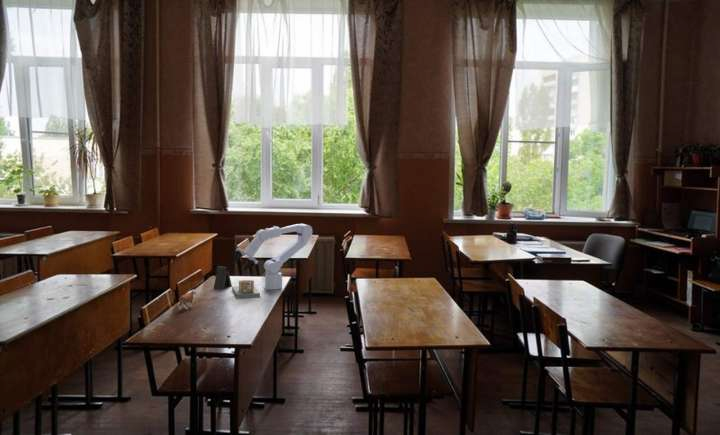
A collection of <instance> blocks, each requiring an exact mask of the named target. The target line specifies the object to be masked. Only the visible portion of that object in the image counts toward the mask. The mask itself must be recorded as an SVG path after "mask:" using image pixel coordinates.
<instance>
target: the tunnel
mask: <svg viewBox="0 0 720 435" xmlns="http://www.w3.org/2000/svg"><path fill="white" fill-rule="evenodd" d="M242 283H250V284H251V291H254V287H255V281H254V280H253V279H242V280H240V279H239V280H238V286H239V291H242Z"/></svg>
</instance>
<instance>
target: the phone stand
mask: <svg viewBox="0 0 720 435" xmlns="http://www.w3.org/2000/svg"><path fill="white" fill-rule="evenodd" d="M229 270H230V269H229V267H228V266H223V265H219V266H218V265H217V267H216V274H215V275H216V276H215V279H214V283H213V284H214V285H213V289H218V290H224V289H228V288H232V287H233V286H232V285H233V284H232V280H231V276H230V272H229Z"/></svg>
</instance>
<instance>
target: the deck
mask: <svg viewBox="0 0 720 435" xmlns="http://www.w3.org/2000/svg"><path fill="white" fill-rule="evenodd" d="M231 290H232V292H233V294H234V296H235V297H236V298H237V299H245V298H246V299H247V298H249V299H250V298H260V297H261V292H260V291H259V290H258V289H257V288H256V286H254V291H250V292H243V291H239V285H237V286H231Z"/></svg>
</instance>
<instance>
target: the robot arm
mask: <svg viewBox="0 0 720 435" xmlns="http://www.w3.org/2000/svg"><path fill="white" fill-rule="evenodd" d="M294 232H295V233H296V234H297V240H296V241H295V242H294V243H293V242H292V244H291V245H289V246H288V247H287V248H285V250H283V251H282V252H281V253H280V254H279V253H278V255H277V256H275V257H272V258H271V259H268V260H266V261H264V264H263V268H264V270H265V271H264V277H265V278H264V285H263V288H264V289H265V290H267V291H268V290H269V291H270V290H272V291H273V290H282V289H283V273H282V272H279V271H280V269H281V268H282V267H283V264H284V263H286V261H288V260H289V259H291V258H292V257H293V256H294V255H295V254H296V253H298V252H299V251H301V250H302V249H303V248H304V247H305V246H307V245H308V242H309V240H310V238H311V237H312V236H313V227H312V226H311V225H309V224H305V223H296V224H291V225H287V226H284V227H279V226H276V225H273V226H272V227H270V228H269V227H266V228H265V229H261V228H260V229H259V230H257V231H256V234H255V236H254V238H253V239H252V240H251V241H250V242H249V244H248V245H247V246H246V248H245V250H243V249H242V248H240V247H236V249H235V250H236V251H235V254H234V257H233V260H232V263H231V264H232V265H233V266H234V265H236V263H237V262H238V261H239V259H240V258H242V257H243V256H244V257H245V258H247V259H248V261H247V262H246V264H245V266H244V268H242V270H241V271H242V272H244V273H245V272H246V271H247V270H249V269H250V268H252V267H253V266H255V265H257V264H258V263H259V261H258V260H257V259H256V258H255V257H254V256H255V255H256V253H257V252H258V251H259V249H260V248H261V247H262V246H263V244H264V243H265V242H266V241H268V240H270V239H275V238H279V237H281V235H282V234H288V233H294Z"/></svg>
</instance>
